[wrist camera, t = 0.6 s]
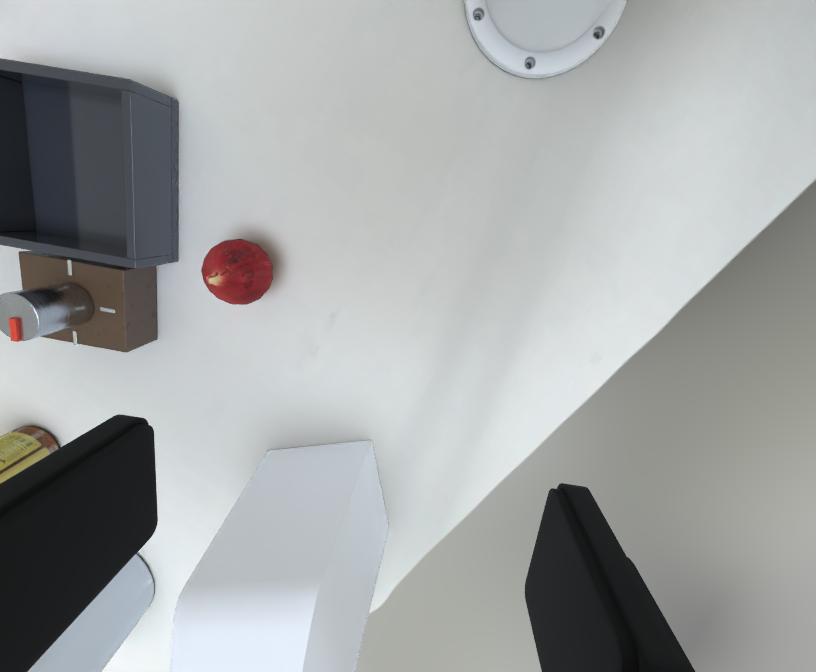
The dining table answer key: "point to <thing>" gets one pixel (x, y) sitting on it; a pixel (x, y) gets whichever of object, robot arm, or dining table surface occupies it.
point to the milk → (288, 568)
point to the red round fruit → (237, 271)
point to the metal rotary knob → (43, 310)
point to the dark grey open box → (87, 166)
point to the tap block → (100, 299)
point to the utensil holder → (102, 623)
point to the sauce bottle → (23, 450)
